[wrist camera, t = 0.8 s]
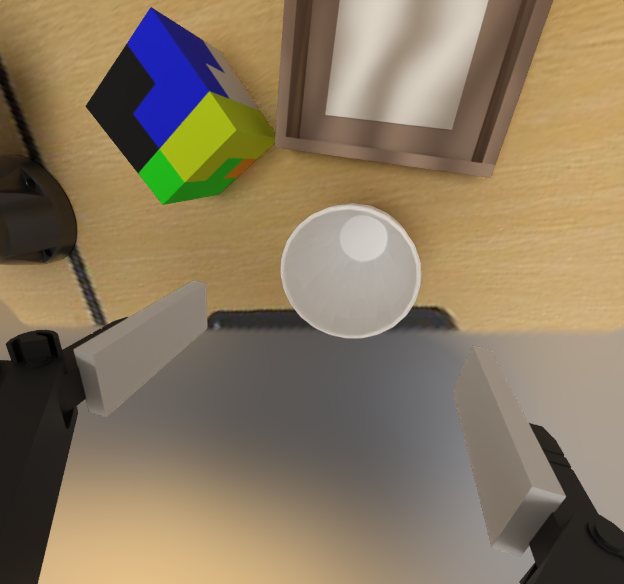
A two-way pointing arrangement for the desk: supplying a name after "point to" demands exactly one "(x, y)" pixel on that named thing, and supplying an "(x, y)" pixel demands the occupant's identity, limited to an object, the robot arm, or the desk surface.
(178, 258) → the desk surface
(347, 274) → the cup
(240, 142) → the puzzle toy
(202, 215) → the desk surface
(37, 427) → the robot arm
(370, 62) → the walled box
